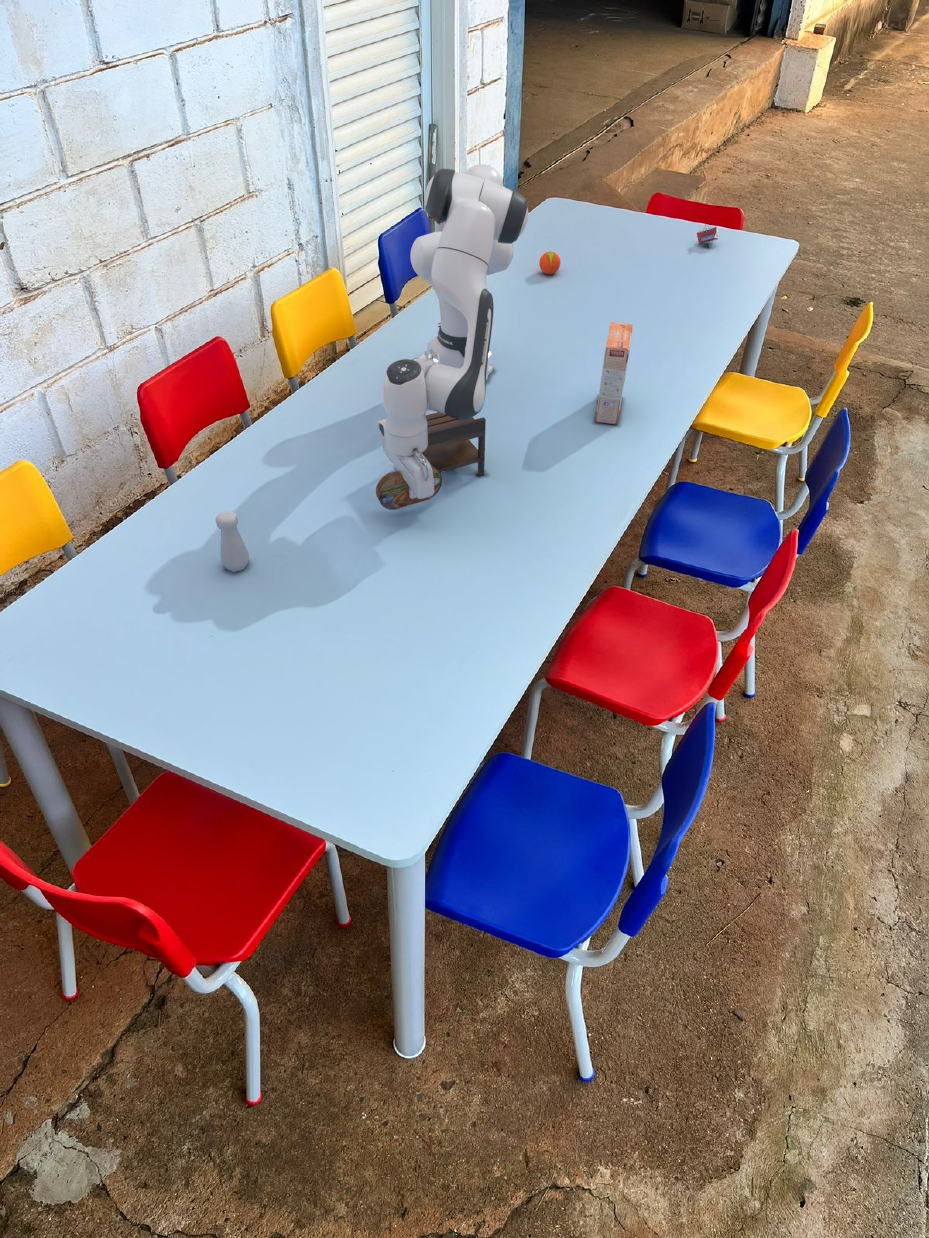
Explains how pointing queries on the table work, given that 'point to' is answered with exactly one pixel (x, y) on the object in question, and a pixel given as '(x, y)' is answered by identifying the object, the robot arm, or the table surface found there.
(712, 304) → the table surface
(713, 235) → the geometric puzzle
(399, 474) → the tin
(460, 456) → the rack
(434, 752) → the table surface
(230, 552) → the salt shaker
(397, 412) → the robot arm
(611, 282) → the table surface
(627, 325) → the cracker box
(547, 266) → the clementine
